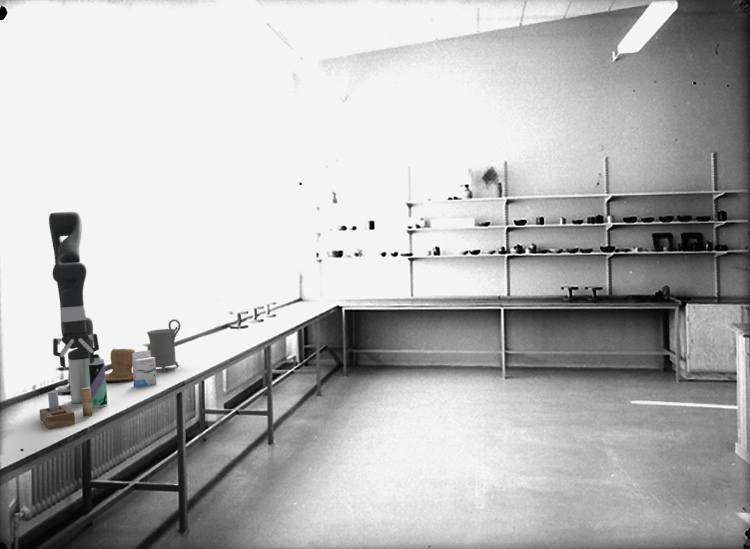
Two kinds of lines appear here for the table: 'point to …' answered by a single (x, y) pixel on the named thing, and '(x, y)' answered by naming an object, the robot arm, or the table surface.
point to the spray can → (98, 382)
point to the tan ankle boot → (121, 365)
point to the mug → (163, 346)
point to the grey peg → (53, 401)
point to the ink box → (143, 368)
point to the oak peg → (86, 401)
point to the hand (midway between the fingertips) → (77, 365)
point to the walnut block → (57, 417)
